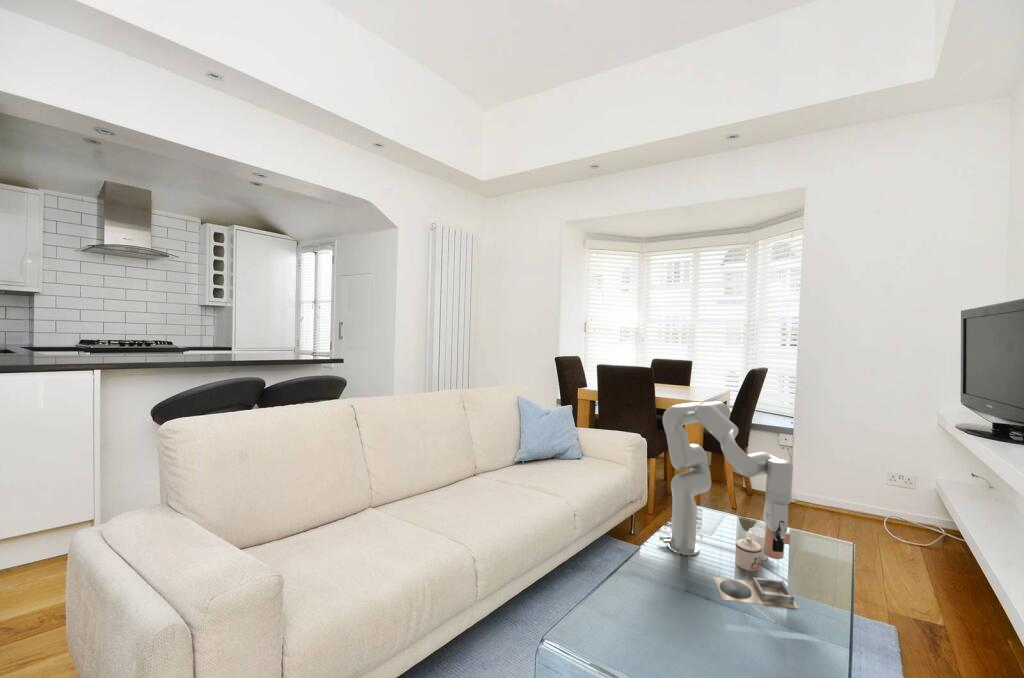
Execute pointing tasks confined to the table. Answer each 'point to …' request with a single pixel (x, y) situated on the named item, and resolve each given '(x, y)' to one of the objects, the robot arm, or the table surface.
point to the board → (756, 591)
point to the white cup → (758, 539)
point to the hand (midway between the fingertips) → (774, 545)
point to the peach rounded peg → (769, 544)
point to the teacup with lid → (748, 554)
